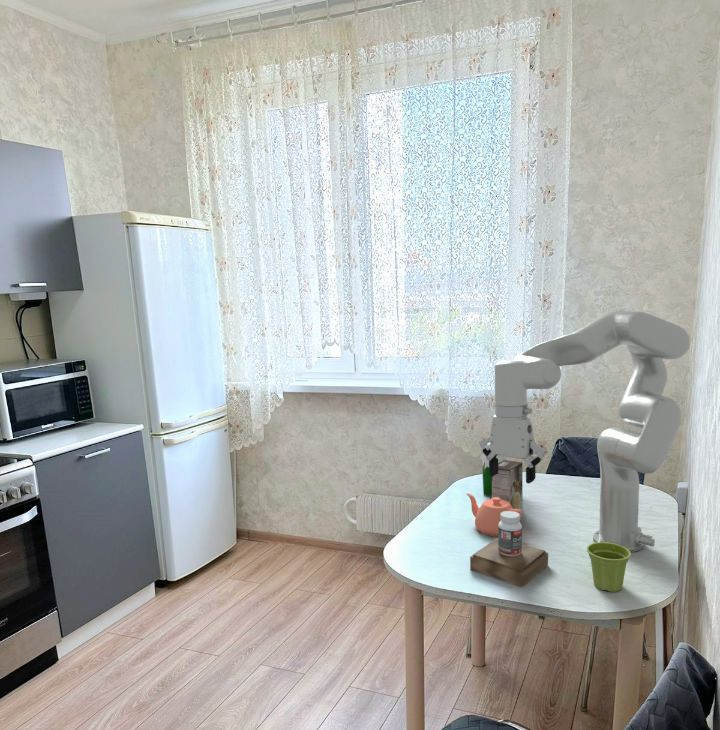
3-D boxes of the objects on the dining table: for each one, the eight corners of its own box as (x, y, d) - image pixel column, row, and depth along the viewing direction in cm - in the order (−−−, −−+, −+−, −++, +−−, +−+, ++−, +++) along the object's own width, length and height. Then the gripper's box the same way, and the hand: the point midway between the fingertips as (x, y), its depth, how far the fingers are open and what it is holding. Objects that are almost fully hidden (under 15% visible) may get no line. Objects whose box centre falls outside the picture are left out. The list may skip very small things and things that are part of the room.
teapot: (512, 544, 160) (512, 510, 159) (456, 527, 172) (455, 496, 171) (532, 529, 169) (532, 498, 168) (477, 515, 181) (477, 485, 180)
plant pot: (577, 580, 140) (578, 545, 138) (610, 573, 142) (610, 539, 141) (605, 599, 131) (605, 562, 130) (639, 591, 134) (640, 555, 132)
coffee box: (503, 507, 186) (503, 458, 184) (523, 511, 183) (523, 462, 181) (491, 517, 179) (491, 466, 177) (511, 521, 175) (511, 469, 173)
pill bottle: (517, 559, 142) (517, 520, 141) (495, 554, 145) (494, 516, 144) (524, 550, 147) (524, 512, 146) (502, 545, 150) (502, 508, 149)
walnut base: (548, 565, 147) (548, 550, 147) (522, 587, 137) (522, 571, 136) (498, 550, 157) (498, 536, 156) (470, 569, 146) (470, 554, 146)
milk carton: (505, 499, 194) (505, 440, 191) (479, 495, 198) (479, 437, 196) (513, 491, 201) (513, 434, 199) (488, 487, 206) (487, 431, 203)
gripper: (551, 411, 140) (551, 480, 143) (487, 404, 152) (488, 468, 154) (537, 418, 135) (538, 489, 137) (472, 410, 146) (473, 476, 148)
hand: (511, 478), depth 145 cm, fingers open, 9 cm apart
